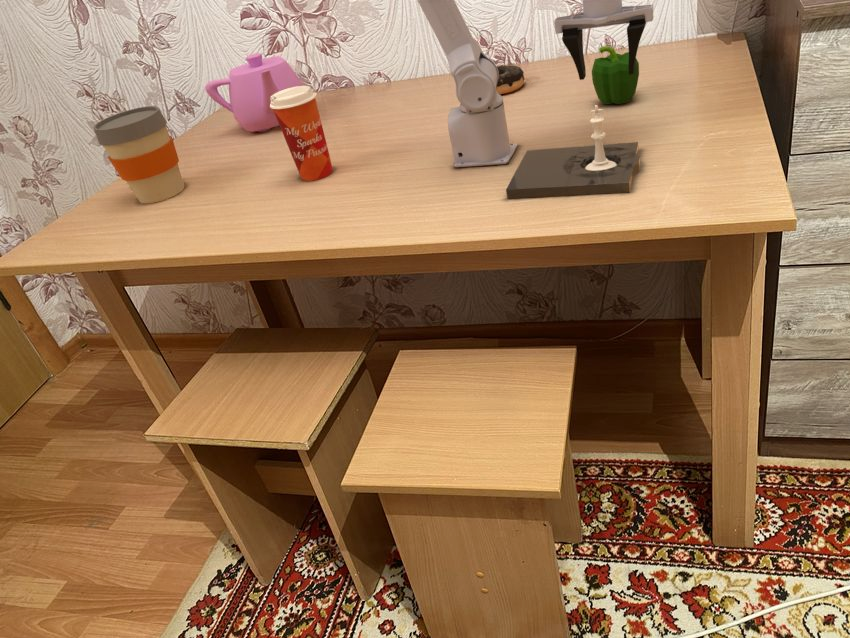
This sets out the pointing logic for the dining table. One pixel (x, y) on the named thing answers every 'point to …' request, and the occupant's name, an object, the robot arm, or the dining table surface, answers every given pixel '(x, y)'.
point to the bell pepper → (614, 77)
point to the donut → (509, 79)
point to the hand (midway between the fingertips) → (606, 75)
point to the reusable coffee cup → (142, 152)
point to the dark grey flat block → (574, 171)
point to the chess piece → (599, 144)
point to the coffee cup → (303, 131)
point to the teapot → (255, 90)
